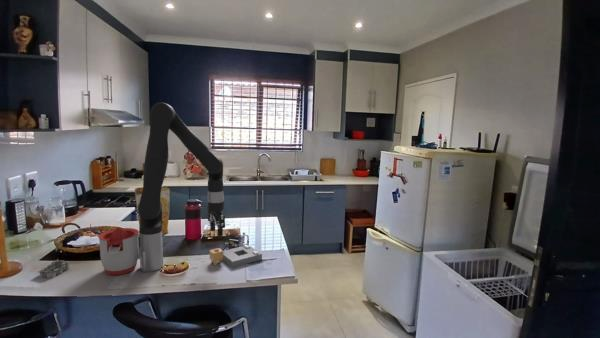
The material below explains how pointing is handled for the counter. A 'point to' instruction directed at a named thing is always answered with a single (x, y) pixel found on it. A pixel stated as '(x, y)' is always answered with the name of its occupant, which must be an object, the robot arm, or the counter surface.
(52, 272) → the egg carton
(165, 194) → the pancake mix bag
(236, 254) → the socket plate
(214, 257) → the plug
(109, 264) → the citrus juicer
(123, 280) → the counter surface
